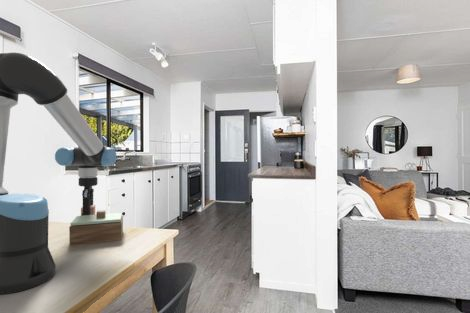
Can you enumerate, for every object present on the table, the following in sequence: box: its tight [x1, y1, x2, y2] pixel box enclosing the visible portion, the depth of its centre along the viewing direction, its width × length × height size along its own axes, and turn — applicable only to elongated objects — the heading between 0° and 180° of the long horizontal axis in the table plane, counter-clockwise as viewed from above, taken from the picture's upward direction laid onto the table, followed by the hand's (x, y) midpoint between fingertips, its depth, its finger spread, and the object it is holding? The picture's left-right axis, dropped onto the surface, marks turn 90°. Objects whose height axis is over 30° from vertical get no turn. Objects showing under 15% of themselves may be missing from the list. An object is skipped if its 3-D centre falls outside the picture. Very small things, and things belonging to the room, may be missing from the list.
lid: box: [70, 209, 123, 226], centre depth 105 cm, size 11×17×4 cm, turn 111°
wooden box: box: [68, 214, 124, 246], centre depth 105 cm, size 12×18×7 cm, turn 111°
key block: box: [80, 204, 96, 216], centre depth 117 cm, size 5×5×10 cm
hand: (88, 227), depth 117 cm, fingers closed on key block, 5 cm apart
